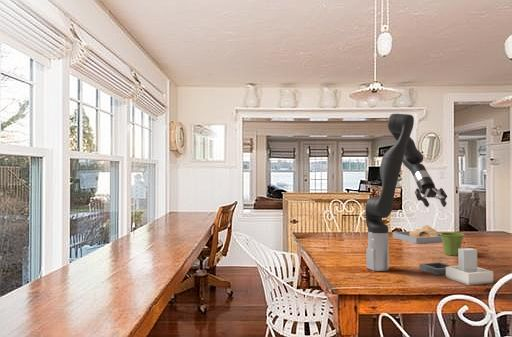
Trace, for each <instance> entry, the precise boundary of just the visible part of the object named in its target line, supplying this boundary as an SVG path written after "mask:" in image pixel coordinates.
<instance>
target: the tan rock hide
mask: <svg viewBox="0 0 512 337" xmlns="http://www.w3.org/2000/svg"><path fill="white" fill-rule="evenodd" d="M438 234H439V233H438V231H437V230H436V229H434V228H433V227H432V226H429V225H428V224H426V225H422V227H421V228H415V229H413V230H412V231H411V232H410V233H409V235H410V236H412V237H416V238H420V237H435V236H438Z"/></svg>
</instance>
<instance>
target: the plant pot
mask: <svg viewBox="0 0 512 337" xmlns="http://www.w3.org/2000/svg"><path fill="white" fill-rule="evenodd" d="M439 234H440V235H441V238H442V241H443V242H442V246H443V252H444V255H446V256H454V257H457V256H458V249H461V248H462V242H463V241H462V240H463V236H465V234H464V233H461V232H453V231H452V232H451V231H447V232H446V231H445V232H439Z"/></svg>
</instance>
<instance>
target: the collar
mask: <svg viewBox="0 0 512 337" xmlns="http://www.w3.org/2000/svg"><path fill="white" fill-rule="evenodd" d="M449 266H451V265H450V264H446V263H443V262H440V261H437V262H436V261H435V262H425V263H424V262H423V263H419V270H421V271H424V272H426V273H430V274H432V275H434V276H435V275H436V276H440V275H441V276H442V275H446V267H449Z"/></svg>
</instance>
